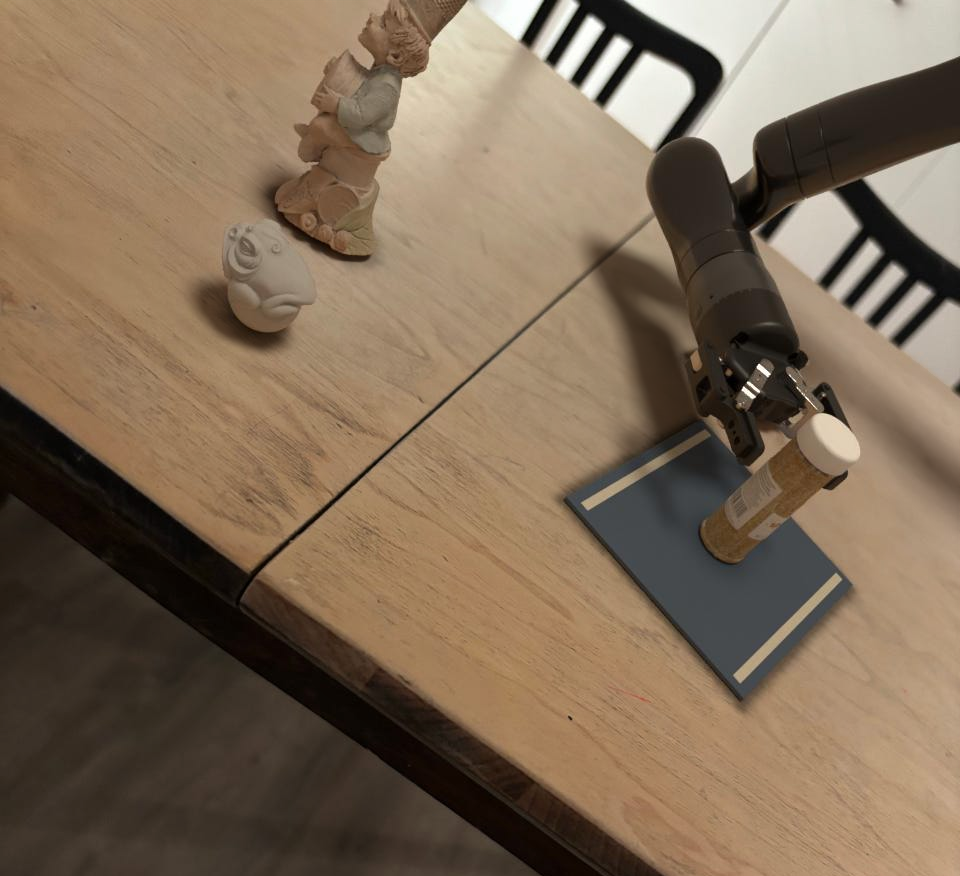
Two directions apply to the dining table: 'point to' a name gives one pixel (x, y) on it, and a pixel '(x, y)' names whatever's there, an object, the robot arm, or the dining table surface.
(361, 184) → the figurine
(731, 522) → the sprinkles bottle
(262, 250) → the frog figurine
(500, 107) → the dining table surface
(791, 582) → the napkin
